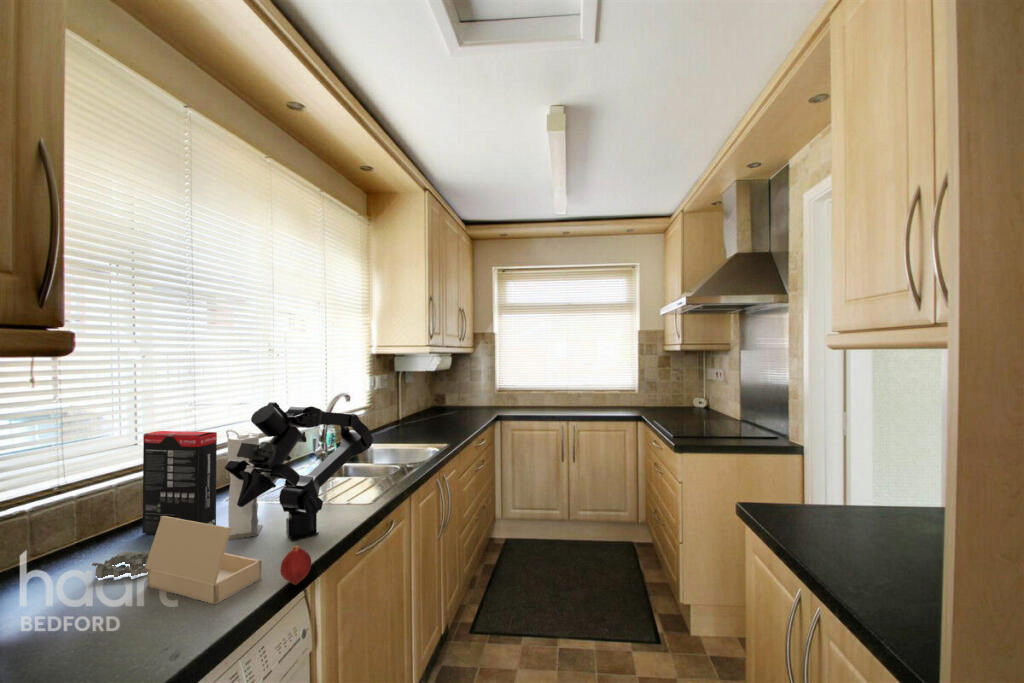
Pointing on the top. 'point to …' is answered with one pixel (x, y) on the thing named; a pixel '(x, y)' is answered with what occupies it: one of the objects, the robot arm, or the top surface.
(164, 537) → the lid
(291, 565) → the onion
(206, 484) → the graphics card box
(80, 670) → the top surface
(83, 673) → the top surface
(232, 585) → the mailer box
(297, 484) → the robot arm
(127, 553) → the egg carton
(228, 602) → the top surface
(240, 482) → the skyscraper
